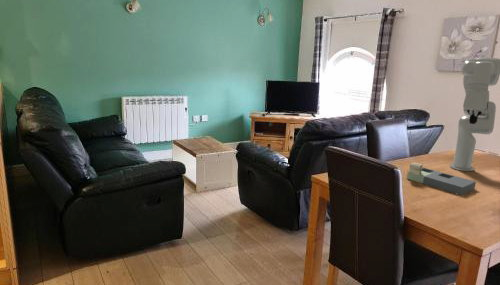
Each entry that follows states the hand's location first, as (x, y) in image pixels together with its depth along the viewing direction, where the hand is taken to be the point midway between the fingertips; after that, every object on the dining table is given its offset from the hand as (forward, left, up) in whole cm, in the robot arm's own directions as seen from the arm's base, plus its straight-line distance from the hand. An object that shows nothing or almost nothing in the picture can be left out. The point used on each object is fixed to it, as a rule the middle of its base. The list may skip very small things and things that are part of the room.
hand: (472, 123), depth 184 cm
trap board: (+12, -6, -32) cm, 35 cm away
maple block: (+19, -16, -28) cm, 37 cm away
